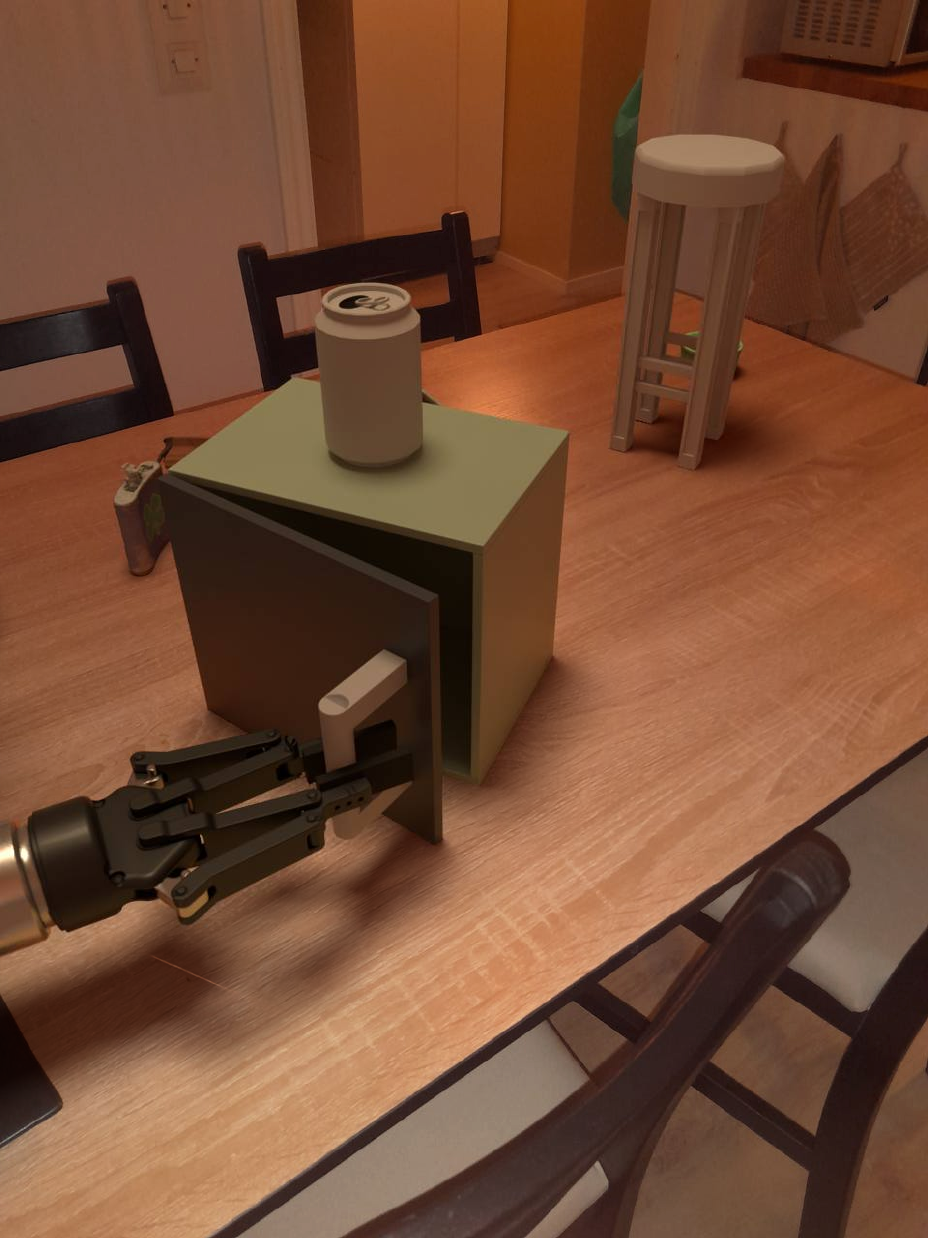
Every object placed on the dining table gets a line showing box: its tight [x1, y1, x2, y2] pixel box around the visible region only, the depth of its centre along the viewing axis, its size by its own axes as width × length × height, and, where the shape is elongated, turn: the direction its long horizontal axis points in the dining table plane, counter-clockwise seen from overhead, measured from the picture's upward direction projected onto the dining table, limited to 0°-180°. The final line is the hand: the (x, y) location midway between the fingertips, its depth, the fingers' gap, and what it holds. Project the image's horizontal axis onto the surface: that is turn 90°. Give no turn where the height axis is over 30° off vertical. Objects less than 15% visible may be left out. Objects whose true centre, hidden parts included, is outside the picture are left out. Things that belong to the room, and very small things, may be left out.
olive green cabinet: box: [167, 376, 571, 787], centre depth 82 cm, size 18×26×24 cm
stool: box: [609, 133, 786, 471], centre depth 115 cm, size 16×16×35 cm
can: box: [313, 282, 423, 468], centre depth 71 cm, size 8×8×12 cm
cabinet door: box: [157, 472, 444, 846], centre depth 71 cm, size 8×26×23 cm, turn 54°
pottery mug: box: [156, 435, 213, 470], centre depth 114 cm, size 12×9×8 cm
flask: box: [112, 460, 170, 577], centre depth 102 cm, size 9×3×11 cm, turn 173°
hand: (402, 749), depth 66 cm, fingers closed on cabinet door, 2 cm apart
